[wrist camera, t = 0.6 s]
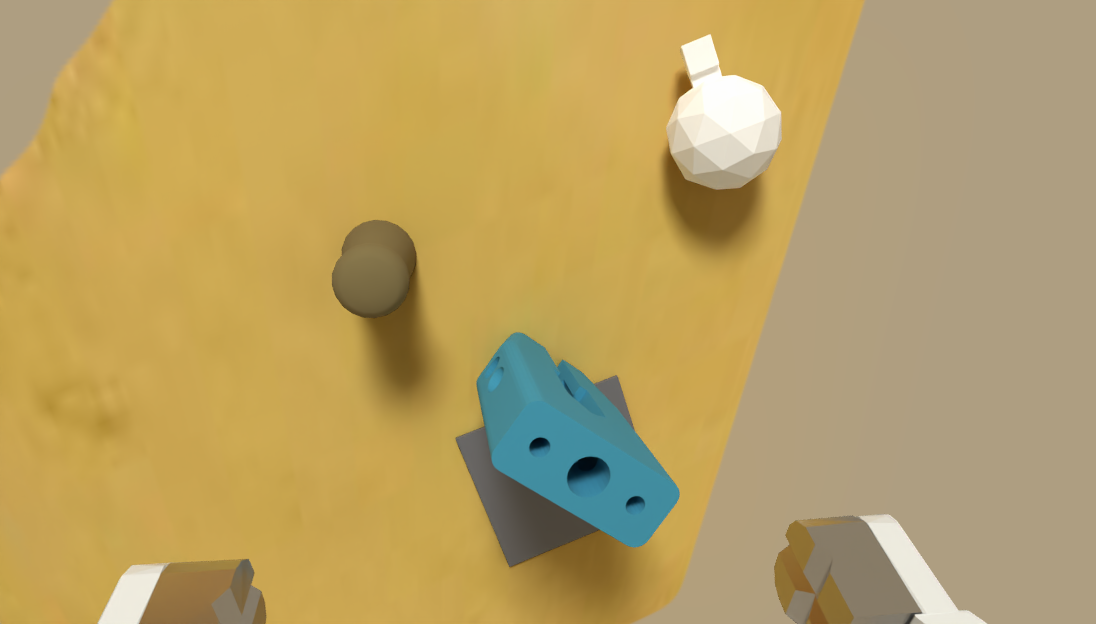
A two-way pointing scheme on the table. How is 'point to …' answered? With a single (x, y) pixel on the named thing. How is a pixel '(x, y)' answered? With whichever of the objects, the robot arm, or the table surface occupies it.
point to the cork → (374, 269)
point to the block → (571, 443)
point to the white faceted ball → (721, 123)
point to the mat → (526, 497)
